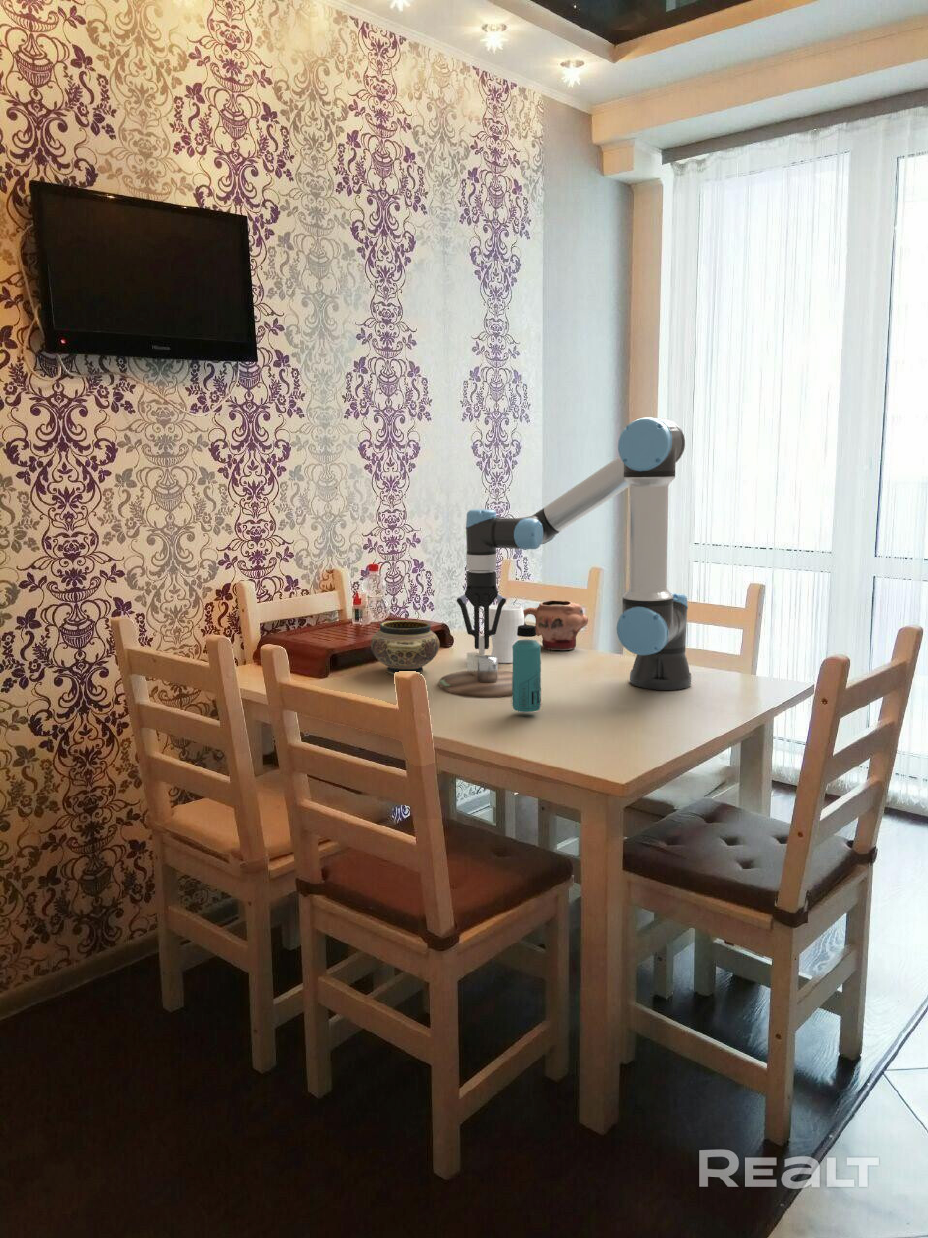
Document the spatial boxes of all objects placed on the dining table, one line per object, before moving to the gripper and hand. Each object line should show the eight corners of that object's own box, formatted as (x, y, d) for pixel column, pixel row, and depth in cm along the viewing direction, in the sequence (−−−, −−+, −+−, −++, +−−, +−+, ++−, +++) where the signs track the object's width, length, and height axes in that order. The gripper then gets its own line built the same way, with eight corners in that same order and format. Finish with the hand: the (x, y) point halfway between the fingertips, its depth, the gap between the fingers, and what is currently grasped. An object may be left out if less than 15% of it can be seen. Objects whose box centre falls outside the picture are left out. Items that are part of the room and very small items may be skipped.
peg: (500, 681, 231) (500, 658, 230) (482, 683, 229) (482, 660, 228) (477, 668, 244) (477, 647, 243) (459, 670, 242) (459, 648, 241)
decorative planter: (519, 652, 270) (519, 604, 268) (519, 643, 282) (520, 598, 280) (588, 653, 269) (589, 605, 267) (586, 644, 281) (587, 598, 279)
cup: (530, 659, 261) (531, 606, 259) (511, 666, 252) (512, 611, 250) (497, 654, 267) (498, 602, 264) (478, 661, 258) (478, 608, 255)
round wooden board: (555, 688, 228) (555, 683, 228) (471, 702, 216) (471, 696, 216) (501, 669, 248) (501, 664, 248) (422, 680, 236) (422, 675, 236)
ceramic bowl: (426, 694, 234) (441, 637, 232) (358, 676, 234) (372, 619, 231) (433, 671, 258) (446, 620, 256) (371, 655, 258) (384, 603, 256)
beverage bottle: (532, 720, 201) (533, 629, 198) (505, 715, 205) (506, 626, 201) (546, 713, 207) (547, 624, 203) (519, 709, 210) (520, 621, 207)
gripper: (507, 568, 240) (507, 658, 244) (457, 568, 241) (458, 657, 245) (506, 572, 232) (506, 664, 237) (454, 572, 233) (455, 664, 238)
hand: (482, 661), depth 241 cm, fingers closed
